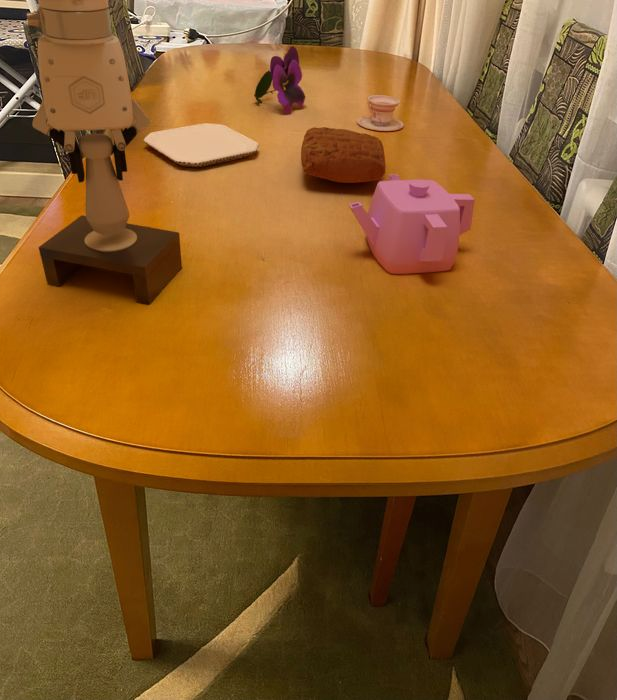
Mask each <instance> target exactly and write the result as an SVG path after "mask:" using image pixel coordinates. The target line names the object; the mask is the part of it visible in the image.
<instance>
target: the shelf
mask: <svg viewBox="0 0 617 700" xmlns="http://www.w3.org/2000/svg"><path fill="white" fill-rule="evenodd" d="M181 250H182V249H181V237H180V232H178V231H173V230H168V229H163V228H156V227H150V226H145V225H140V224H139V225H138V224H134V223H128V222H127V224H126V227H125V229H124V230H123V231H121V232H120V233H119V234H115V235H106V236H104V235H101V234H99V233H96V232H95V231H94V230H93V228H92V227H91V225H90V224H89V222H88V221H87V219H86V215H80V216H78V217H77V218H76V219H74V220H73V221H72V222H71V223H69V224H68V225H66V226H65V227H64V228H62V229H61V230H60V231H58V232H57V233H55V234H54V235H53V236H51V237H50V238H49V239H47V240H46V241H44V243H42V244H41V245H40V246H38V251H39V256H40V259H41V263H42V264H41V265H42V269H43V272H44V276H45V280H46V284H47V285H49V286H54V287H59V288H60V287H61V286H62V285H64V284H65V283H66V282H67V281H68V280H69V279H70V278H72V277H73V276H74V275H75V274H76V273H78V271H79V270H81V269H82V268H83V267H84V266H87V267H90V268H91V267H93V268H97V269H103V270H107V271H112V272H117V273H118V272H119V273H123V274H128V275H132V280H133V287H134V295H135V302H136V303H138V304H142V305H143V304H144V305H148V306H150V305H151V304H152V303H153V301H154V300H155V299H157V298H158V296H159V295H160V294H161V292H162V291H163V290H164V289H165V288H166V287H167V285H168V284H169V283H170V282H171V281H172V280H173V279H174V278H175V277H176V276H177V275H178V273H179V272H180V271H181V270H182V268H183V262H182V252H181Z"/></svg>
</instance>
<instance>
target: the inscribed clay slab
mask: <svg viewBox="0 0 617 700" xmlns="http://www.w3.org/2000/svg"><path fill="white" fill-rule="evenodd" d="M384 148H385V147H384V145H383V142H382V140H381V139H379V138H378V137H376V136H374V135H371V134H369V133H363V132H362V133H361V132H356V131H353V130H350V129H344V128H333V127H327V126H323V127H313V126H312V127H311V128H309V129H307V130H306V132H305V134H304V136H303V140H302V143H301V148H300V162H301V163H300V164H301V167H302V170H303V172H304V173H305V174H307V175H309V176H311V177H312V176H313V177H316V178H319V179H324V180H328V181H332V182H337V183H343V184H344V183H345V184H347V183H348V184H352V183H355V184H356V183H368V182H374V181H377V180H380V179H382V178H384V176H385V174H386V155H385V149H384Z"/></svg>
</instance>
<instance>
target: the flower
mask: <svg viewBox="0 0 617 700" xmlns="http://www.w3.org/2000/svg"><path fill="white" fill-rule="evenodd" d="M302 78H303V72H302V68H301V65H300V57H299V53H298V50H297V48H296V47H295V46H294V45H293V46H290V47H289V49H288V50H287V52H286V54H285V55H284V57H283V59H282V58H281V57H280V56H278V55H273V56H272V57H271V58H270V62H269V70H268V71H266V72H265V73H264V74H263V75H262V76H261V78H260V79H259V81H258V82H257V85H256V87H255V90H254V94H253V96H254V98H255V100H256V101H257V102H258V103H259V104H263V100H261V98H263V97H264V96H266V95H267V94H269V93H270V94H274V92H277V94H276V97H277V101H278V103H279V104H281V106H283V113H284V115H291V114H292V109H293V105H294V104H297V106H299V107H300V108H301V109H303V107H304V103H305V100H306V94H305V91H304V90H303V89H302V87H301V86H300V85H299V83H300V82H301V81H302ZM271 86H272V88H273V90H270V87H271ZM269 90H270V91H269Z"/></svg>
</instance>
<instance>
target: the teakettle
mask: <svg viewBox="0 0 617 700" xmlns="http://www.w3.org/2000/svg"><path fill="white" fill-rule="evenodd" d="M387 177H388V179H387V180H380V181H379V182H378V183H377V185H376V187H375V190H374V192H373V196H372V198H371V201H370V205H369V208H368V212H367V211H366V209H365V208H364V207H363V204H362V202H360V201H357V202H353V203H349V204H348V207H349V209H350V211H351V212H352V213H353V215H354V217H355V219H356V220H357V222H358V224H359V225H360V227H361V229H362V230H363V232H364V233H365V235H366V240H367V244H368V246H369V249H370V251H371V254H372V255H373V257H374V258H375V259H376V261H377V262H378V263H379V265H380V266H381V267H382V268H383V269H384V271H386V272H387V273H389V274H391V275H408V274H411V275H412V274H429V273H439V272H446V271H450V270H451V268H452V267H453V266H454V263H455V261H456V259H457V256H458V252H459V251H458V250H459V243H460V236H461V235H464V234H465V233H467V232H469V231H470V230H472V224H473V223H472V222H473V215H474V208H475V198H474V197H473V196H472V195H471V194H470V193H449V192H448V191H447V190H446V189H445V188H444V187H443V186H441V185H440V184H439V183H438V182H436V181H435V180H432V179H419V178H416V179H415V178H414V179H400V177H401V176H400V175H398V174H397V173H395V174H388V176H387Z"/></svg>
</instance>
